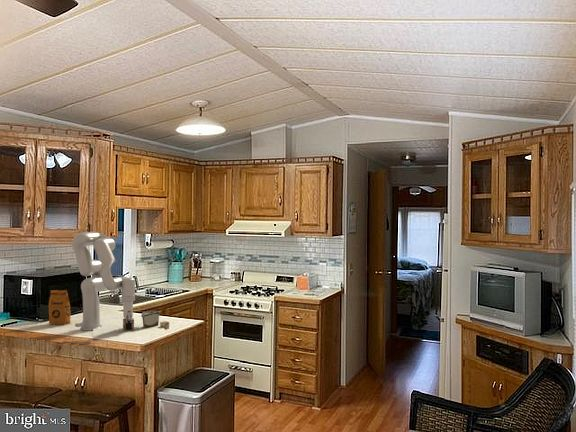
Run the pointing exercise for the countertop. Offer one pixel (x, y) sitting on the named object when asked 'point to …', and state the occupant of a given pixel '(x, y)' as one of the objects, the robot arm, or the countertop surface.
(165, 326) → the oak block
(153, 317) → the food container
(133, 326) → the walnut block
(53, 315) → the coffee package
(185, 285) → the countertop surface
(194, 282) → the countertop surface
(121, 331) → the parts board
